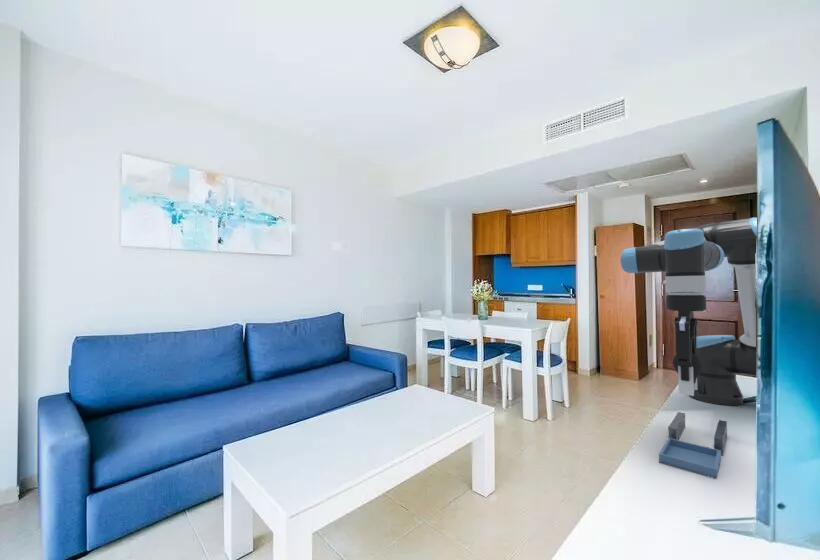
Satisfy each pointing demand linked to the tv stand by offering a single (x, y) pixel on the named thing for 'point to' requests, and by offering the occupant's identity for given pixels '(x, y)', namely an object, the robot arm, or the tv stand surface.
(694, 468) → the parts tray
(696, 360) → the black round speckled part
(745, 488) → the tv stand surface
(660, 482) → the tv stand surface
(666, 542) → the tv stand surface
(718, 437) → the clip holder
